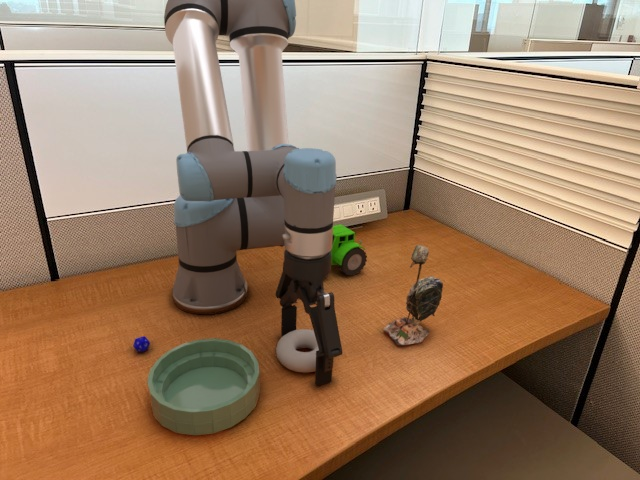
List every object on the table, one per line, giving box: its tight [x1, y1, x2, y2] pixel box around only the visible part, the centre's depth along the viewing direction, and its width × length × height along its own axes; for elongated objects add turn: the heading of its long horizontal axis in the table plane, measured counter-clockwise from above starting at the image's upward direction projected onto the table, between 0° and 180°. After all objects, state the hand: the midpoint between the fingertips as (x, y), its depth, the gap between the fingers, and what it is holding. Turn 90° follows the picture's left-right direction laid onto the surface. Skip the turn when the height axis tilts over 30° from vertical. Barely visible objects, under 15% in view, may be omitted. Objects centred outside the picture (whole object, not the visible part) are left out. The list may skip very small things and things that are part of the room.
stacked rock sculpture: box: [382, 244, 446, 346], centre depth 88 cm, size 8×11×20 cm
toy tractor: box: [331, 223, 368, 277], centre depth 112 cm, size 11×16×10 cm
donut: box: [275, 328, 319, 374], centre depth 84 cm, size 10×4×10 cm
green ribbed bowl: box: [146, 337, 261, 436], centre depth 74 cm, size 16×16×5 cm
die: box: [132, 335, 151, 354], centre depth 84 cm, size 3×3×3 cm
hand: (304, 358), depth 84 cm, fingers open, 13 cm apart
